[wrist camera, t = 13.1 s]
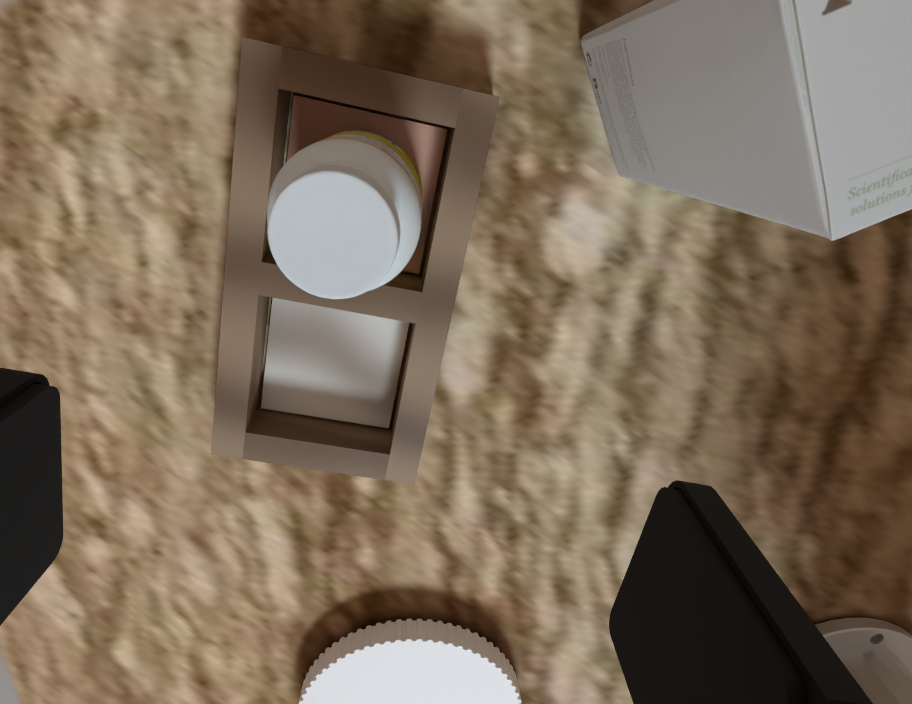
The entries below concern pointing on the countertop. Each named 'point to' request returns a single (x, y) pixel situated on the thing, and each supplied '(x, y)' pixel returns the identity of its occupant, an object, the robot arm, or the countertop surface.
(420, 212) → the supplement bottle
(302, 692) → the plastic lid
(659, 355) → the countertop surface
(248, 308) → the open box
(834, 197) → the skincare box
